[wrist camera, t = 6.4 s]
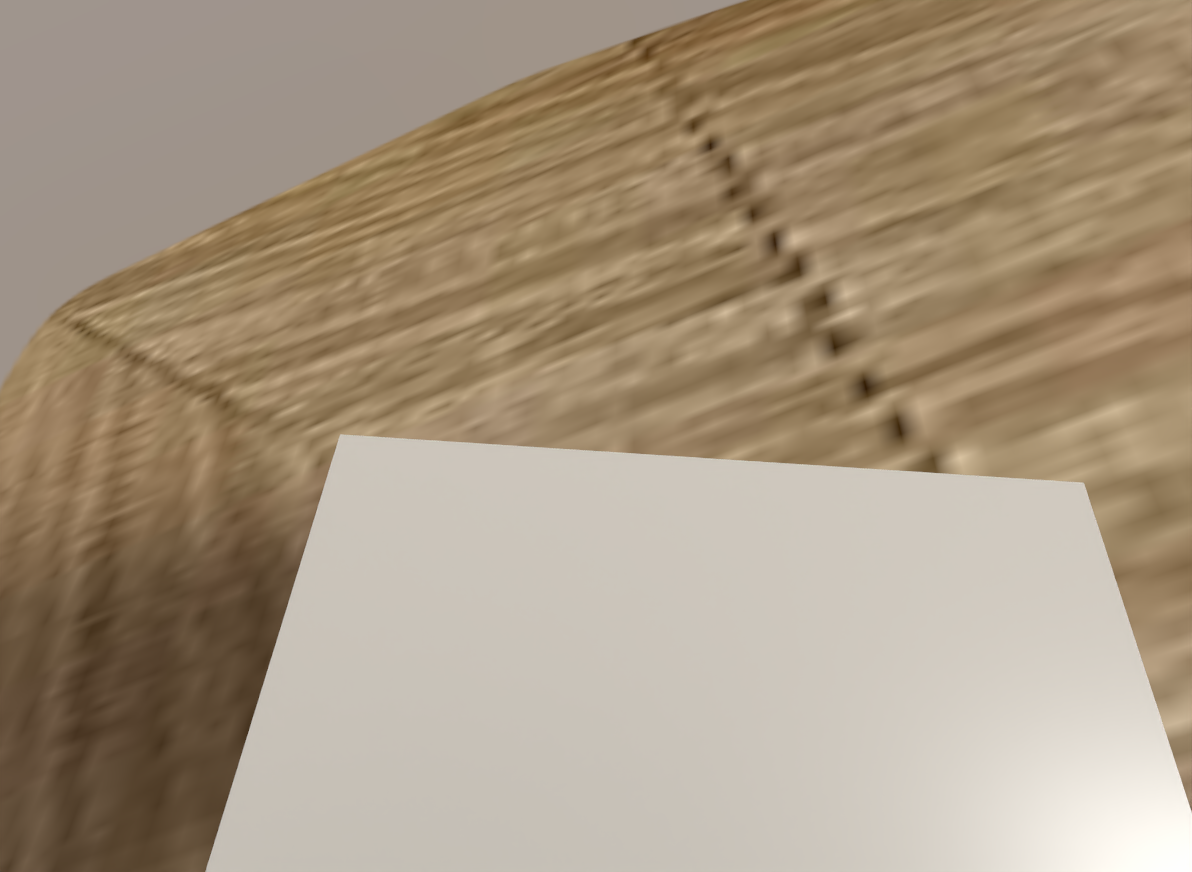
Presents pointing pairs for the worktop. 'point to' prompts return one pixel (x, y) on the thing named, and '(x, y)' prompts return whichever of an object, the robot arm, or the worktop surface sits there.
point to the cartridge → (699, 675)
